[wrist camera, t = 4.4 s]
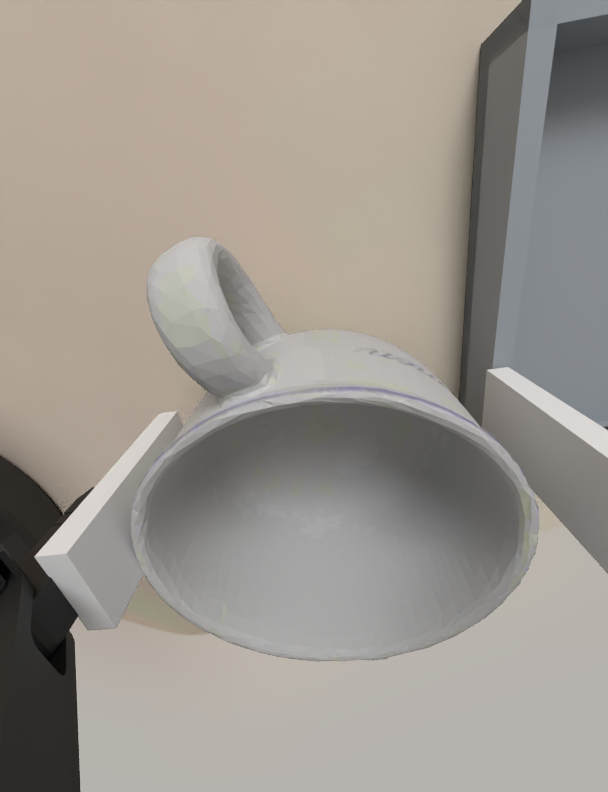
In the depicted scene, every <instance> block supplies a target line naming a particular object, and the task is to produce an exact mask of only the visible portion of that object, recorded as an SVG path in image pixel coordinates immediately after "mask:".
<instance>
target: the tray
mask: <svg viewBox="0 0 608 792" xmlns="http://www.w3.org/2000/svg"><path fill="white" fill-rule="evenodd" d="M504 367H509V368H511V369H512V370H514V371H515V372H517V373H518V374H520V375H522V376H523V377H525V378H526V379H528V380H529V381H531V382H533V383H534V384H536V385H537V386H539V387H540V388H542V389H544V390H545V391H547V392H548V393H550V394H551V395H553V396H555V397H556V398H558V399H559V400H561V401H562V402H564V403H566V404H567V405H569V406H570V407H572V408H574V409H575V410H577V411H578V412H580V413H581V414H583V415H585V416H586V417H588V418H589V419H591V420H592V421H594V422H596V423H597V424H599V425H600V426H602V427H607V426H608V0H522V1H521V3H520V4H519V5H518V6H517V7H516V8H515V9H514V10H513V11H512V12H511V13H510V14H509V15H508V16H507V18H506V19H505V20H504V21H503V22H502V23H501V24H500V25H499V26H498V27H497V28H496V29H495V30H494V31H493V33H492V34H491V35H490V36H489V37H488V38H487V39H486V40H485V41H484V42H483V43H482V44H481V54H480V71H479V87H478V103H477V119H476V135H475V152H474V168H473V184H472V200H471V216H470V233H469V249H468V265H467V281H466V297H465V313H464V330H463V346H462V362H461V378H460V394H459V402H460V403H461V404H462V405H463V406H464V408H465V409H466V410H467V411H468V412H469V414H470V415H471V416H472V417H473V418H474V420H475V421H476V422H477V423H478V425H479V426H480V427H481V428H482V418H483V406H484V394H485V383H486V371H487V370H489V369H496V368H504Z"/></svg>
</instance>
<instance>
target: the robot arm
mask: <svg viewBox="0 0 608 792" xmlns="http://www.w3.org/2000/svg"><path fill="white" fill-rule="evenodd" d="M182 428H183V425H182V422H181V420H180V417H179V414H178V411H174V412H167V413H159V414H158V415H157V417H156V418H155V419H154V420H153V421H152V422H151V424H150V425H149V426H148V427H147V428H146V429H145V430H144V432H143V433H142V434H141V435H140V436H139V437H138V438H137V440H136V441H135V442H134V443H133V444H132V445H131V446H130V448H129V449H128V450H127V451H126V452H125V453H124V454H123V456H122V457H121V458H120V459H119V460H118V461H117V463H116V464H115V465H114V466H113V467H112V468H111V469H110V471H109V472H108V473H107V474H106V475H105V476H104V477H103V479H102V480H101V481H100V482H99V483H98V484H97V485H96V487H93V488H91V489H90V490H88V491H87V492H86V493H84V494H83V495H82V496H80V497H79V498H78V499H76V501H75V502H74V503H73V504H72V505H71V506H70V507H69V508H68V509H67V511H66V512H65V515H62V516H61V514H60V513H59V511H58V510H57V508H56V507H55V505H54V504H53V503H52V501H51V500H50V499H49V498H48V497H47V495H46V494H45V493H44V492H43V491H42V490H41V489H40V488H39V487H38V486H37V485H36V484H35V483H34V482H33V481H32V480H31V479H29V478H28V477H27V476H26V475H25V474H24V473H22V472H21V471H20V470H19V469H17V468H16V467H15V466H13V465H12V464H11V463H9V462H8V461H6V460H5V459H3V458H2V457H0V792H80V771H79V745H78V719H77V693H76V669H75V668H76V667H75V642H74V638H73V636H72V634H71V633H70V631H69V630H70V628H71V626H72V625H73V623H74V622H75V620H76V618H77V617H79V619H80V620H81V621H82V623H83V624H84V626H85V627H86V628H87V630H101V629H114V628H116V627H117V625H118V623H119V621H120V619H121V618H122V616H123V614H124V612H125V610H126V608H127V606H128V604H129V602H130V600H131V598H132V596H133V594H134V592H135V590H136V588H137V586H138V584H139V582H140V580H141V578H142V576H143V574H144V572H143V570H142V568H141V566H140V565H139V562H138V559H137V557H136V554H135V551H134V547H133V543H132V536H131V513H132V507H133V504H134V500H135V497H136V494H137V491H138V488H139V484H140V482H141V481H142V479H143V477H144V476H145V474H146V472H147V471H148V469H149V468H150V466H151V465H152V464H153V462H154V461H155V460H156V459H157V458H158V456H159V455H160V454H161V453H162V452H163V451H164V450H165V449H166V448H167V447H168V446H169V445H170V444H171V443H172V442H173V441H174V440H175V438H176V437H177V435H178V434H179V432H180V431H181V429H182ZM482 429H484V430H486V431H487V432H489V433H491V434H492V435H493V436H494V437H495V438H496V440H497V441H498V442H499V443H500V444H501V445H502V446H503V447H504V448H505V449H506V450H507V452H508V453H509V454H510V455H511V456H512V458H513V459H514V460H515V461H516V463H517V464H518V465H519V467H520V468H521V470H522V471H523V473H524V475H525V477H526V480H527V482H528V484H529V485H530V487H531V489H532V490H533V491H534V492H535V493H536V494H537V495H538V497H539V498H540V499H541V500H542V501H543V502H544V503H545V504H546V505H547V507H548V508H549V509H550V510H551V511H552V512H553V513H554V514H555V515H556V517H557V518H558V519H559V520H560V521H561V522H562V523H563V524H564V525H565V527H566V528H567V529H568V530H569V531H570V532H571V533H572V534H573V535H574V537H575V538H576V539H577V540H578V541H579V542H580V543H581V544H582V545H583V547H584V548H585V549H586V550H587V551H588V552H589V553H590V554H591V556H592V557H593V558H594V559H595V560H596V561H597V562H598V563H599V564H600V566H601V567H602V568H603V569H604V570H605V571H606V572H607V573H608V426H607V427H602V426H600V425H599V424H597V423H596V422H594V421H592V420H591V419H589V418H588V417H586V416H585V415H583V414H581V413H580V412H578V411H577V410H575V409H574V408H572V407H570V406H569V405H567V404H566V403H564V402H562V401H561V400H559V399H558V398H556V397H555V396H553V395H551V394H550V393H548V392H547V391H545V390H544V389H542V388H540V387H539V386H537V385H536V384H534V383H533V382H531V381H529V380H528V379H526V378H525V377H523V376H522V375H520V374H518V373H517V372H515V371H514V370H512V369H511V368H509V367H504V368H496V369H489V370H487V371H486V383H485V394H484V406H483V418H482Z"/></svg>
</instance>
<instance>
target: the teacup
mask: <svg viewBox="0 0 608 792" xmlns="http://www.w3.org/2000/svg"><path fill="white" fill-rule="evenodd" d="M147 299H148V303H149V307H150V312H151V316H152V318H153V321H154V323H155V326H156V328H157V330H158V333H159V334H160V336H161V338H162V340H163V342H164V344H165V345H166V347H167V348H168V350H169V351H170V353H171V354H172V356H173V357H174V359H175V360H176V362H177V363H178V365H179V366H180V367H181V368H182V369H183V370H184V371H185V372H186V373H187V374H188V375H189V376H190V377H191V378H192V379H193V380H195V381H196V382H197V383H198V384H199V385H201V386H202V387H203V388H204V389H205V390H207V391H208V392H207V394H206V395H205V396H204V398H203V399H202V400H201V402H200V403H199V405H198V406H197V408H196V409H195V410H194V412H193V413H192V415H191V416H190V417H189V419H188V420H187V422H186V423H185V425H184V426H183V428H182V429H181V431H180V432H179V434H178V435H177V437H176V438H175V440H174V441H173V442H172V443H171V444H170V445H169V446H168V447H167V448H166V449H165V450H164V451H163V452H162V453H161V454H160V455H159V456H158V458H157V459H156V460H155V461H154V462H153V464H152V465H151V466H150V468H149V469H148V471H147V472H146V474H145V476H144V477H143V479H142V481H141V482H140V484H139V488H138V491H137V494H136V497H135V500H134V504H133V507H132V513H131V536H132V543H133V547H134V551H135V554H136V557H137V559H138V562H139V565H140V566H141V568H142V570H143V572H144V574H145V576H146V578H147V580H148V582H149V583H150V585H151V586H152V587H153V589H154V590H155V591H156V593H157V594H158V595H159V596H160V597H161V598H162V599H163V600H164V601H165V602H166V603H167V604H168V605H169V606H170V607H171V608H172V609H174V610H175V611H176V612H177V613H178V614H180V615H181V616H182V617H183V618H185V619H186V620H188V621H189V622H191V623H193V624H194V625H196V626H197V627H199V628H201V629H202V630H204V631H205V632H209V633H212V634H213V635H215V636H216V637H218V638H221V639H223V640H225V641H227V642H229V643H232V644H235V645H238V646H241V647H244V648H247V649H250V650H253V651H257V652H260V653H264V654H269V655H273V656H278V657H285V658H291V659H299V660H309V661H351V660H378V659H387V658H388V657H391V656H395V655H399V654H403V653H408V652H412V651H416V650H421V649H425V648H428V647H431V646H432V645H435V644H437V643H440V642H442V641H445V640H447V639H450V638H452V637H454V636H456V635H457V634H459V633H461V632H463V631H465V630H466V629H468V628H470V627H471V626H473V625H474V624H477V623H478V622H480V621H481V620H482V619H484V618H486V617H487V616H488V615H489V614H490V613H492V612H493V611H494V610H495V609H496V608H497V607H498V606H500V605H501V604H502V603H503V601H504V600H505V599H506V598H507V597H508V596H509V594H511V593H512V592H513V591H514V589H515V588H516V587H517V586H518V585H519V584H520V582H521V579H522V578H523V576H524V575H525V574H526V572H527V570H528V569H529V566H530V563H531V560H532V558H533V556H534V555H535V551H536V547H537V543H538V530H539V509H538V505H537V503H536V501H535V499H534V492H533V490H532V489H531V487H530V485H529V484H528V482H527V480H526V477H525V475H524V473H523V471H522V470H521V468H520V467H519V465H518V464H517V463H516V461H515V460H514V459H513V458H512V456H511V455H510V454H509V453H508V452H507V450H506V449H505V448H504V447H503V446H502V445H501V444H500V443H499V442H498V441H497V440H496V438H495V437H494V436H493V435H492V434H491V433H489V432H487V431H486V430H484V429H482V428H481V427H480V426H479V425H478V423H477V422H476V421H475V420H474V418H473V417H472V416H471V415H470V414H469V412H468V411H467V410H466V409H465V408H464V406H463V405H462V404H461V403H460V402H459V401H458V399H457V398H456V397H455V396H454V395H453V394H452V392H451V391H450V390H449V389H448V388H447V387H446V386H445V385H444V384H443V383H442V382H441V381H440V380H439V379H438V378H437V377H436V376H435V375H434V374H433V373H432V372H431V371H430V370H429V369H428V368H427V367H426V366H425V365H423V364H422V363H421V362H420V361H418V360H417V359H416V358H414V357H413V356H412V355H410V354H409V353H407V352H405V351H404V350H402V349H400V348H399V347H397V346H395V345H393V344H391V343H389V342H387V341H384V340H382V339H379V338H376V337H374V336H370V335H367V334H363V333H359V332H354V331H347V330H338V329H322V330H310V331H303V332H298V333H294V334H288V333H286V331H285V330H284V329H283V327H282V326H281V325H280V324H279V323H278V322H277V320H276V319H275V318H274V316H273V315H272V313H271V311H270V310H269V308H268V307H267V305H266V303H265V302H264V300H263V298H262V297H261V295H260V294H259V292H258V290H257V289H256V287H255V286H254V284H253V283H252V281H251V280H250V278H249V277H248V275H247V274H246V272H245V271H244V270H243V268H242V267H241V265H240V264H239V262H238V261H237V260H236V258H235V257H234V256H233V255H232V254H231V253H230V252H229V251H228V250H227V249H226V248H225V247H224V246H223V245H222V244H220V243H219V242H217V241H216V240H213V239H210V238H207V237H192V238H189V239H187V240H184V241H181V242H179V243H177V244H176V245H174V246H173V247H171V248H170V249H169V250H167V251H166V252H164V253H163V254H162V255H160V256H159V258H158V259H157V260H156V261H155V262H154V264H153V265H152V267H151V270H150V272H149V275H148V279H147Z"/></svg>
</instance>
